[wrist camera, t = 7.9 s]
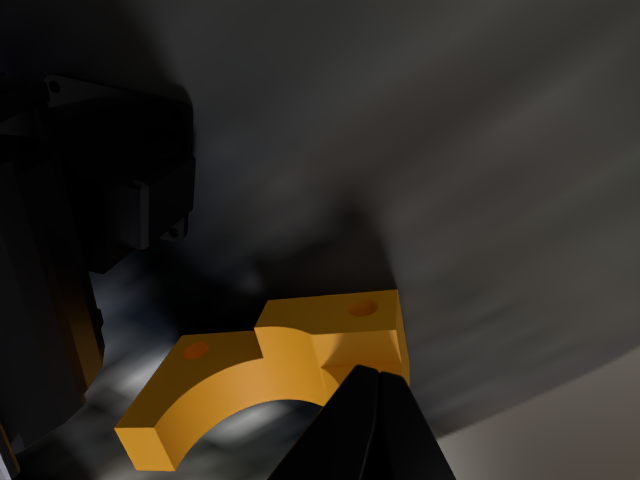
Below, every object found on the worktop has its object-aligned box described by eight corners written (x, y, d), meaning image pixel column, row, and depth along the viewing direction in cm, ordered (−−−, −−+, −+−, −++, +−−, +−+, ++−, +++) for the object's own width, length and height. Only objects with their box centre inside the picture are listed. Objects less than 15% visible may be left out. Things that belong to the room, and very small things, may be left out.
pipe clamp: (397, 287, 21) (393, 387, 15) (409, 360, 23) (409, 475, 17) (172, 307, 24) (97, 396, 18) (197, 370, 26) (136, 470, 20)
